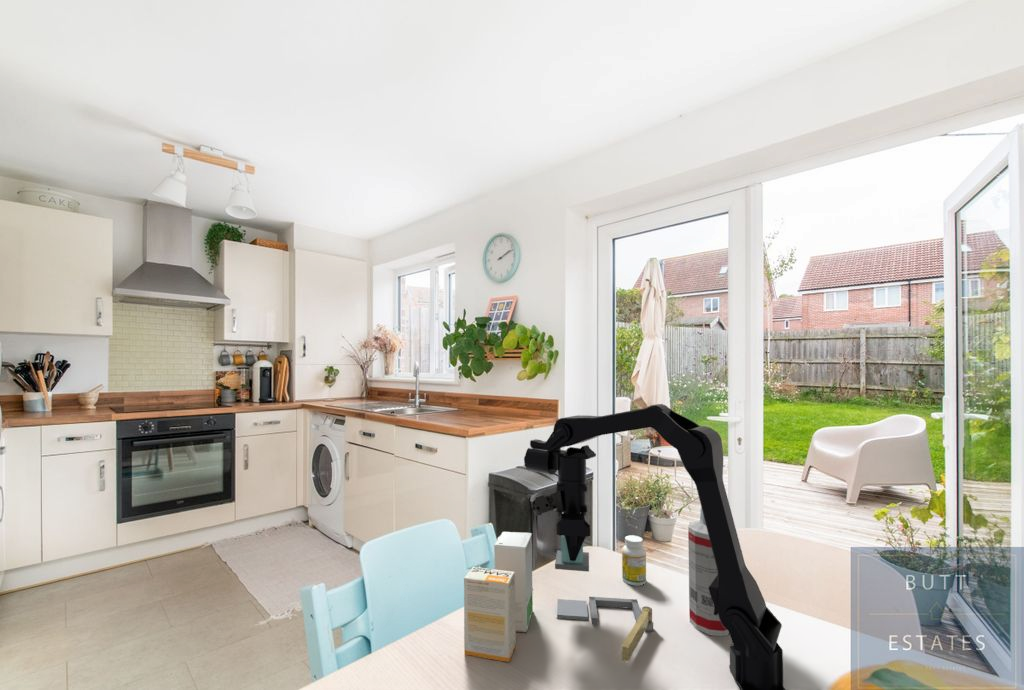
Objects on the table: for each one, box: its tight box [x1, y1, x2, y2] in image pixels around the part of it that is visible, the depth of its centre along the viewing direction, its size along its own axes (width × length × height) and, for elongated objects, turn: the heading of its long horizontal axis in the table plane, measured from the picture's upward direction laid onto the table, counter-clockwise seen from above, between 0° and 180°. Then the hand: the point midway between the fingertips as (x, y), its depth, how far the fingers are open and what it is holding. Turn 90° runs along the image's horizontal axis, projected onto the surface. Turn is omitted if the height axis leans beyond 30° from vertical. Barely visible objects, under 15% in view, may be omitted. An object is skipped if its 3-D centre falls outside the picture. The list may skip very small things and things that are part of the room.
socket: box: [588, 596, 654, 633], centre depth 89 cm, size 12×9×1 cm
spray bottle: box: [687, 506, 730, 637], centre depth 87 cm, size 8×8×25 cm
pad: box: [556, 598, 589, 621], centre depth 91 cm, size 6×6×1 cm
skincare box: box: [493, 531, 534, 633], centre depth 88 cm, size 8×7×16 cm
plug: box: [554, 536, 590, 573], centre depth 91 cm, size 7×7×6 cm
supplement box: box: [463, 566, 517, 663], centre depth 78 cm, size 8×5×13 cm, turn 74°
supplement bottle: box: [621, 534, 647, 587], centre depth 104 cm, size 5×5×10 cm
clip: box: [621, 605, 653, 663], centre depth 79 cm, size 14×2×2 cm, turn 148°
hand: (572, 555), depth 91 cm, fingers closed on plug, 4 cm apart
